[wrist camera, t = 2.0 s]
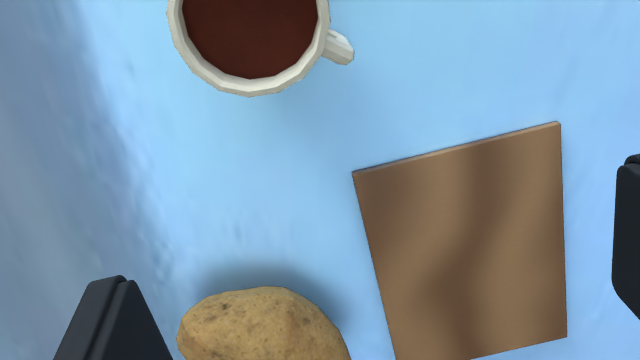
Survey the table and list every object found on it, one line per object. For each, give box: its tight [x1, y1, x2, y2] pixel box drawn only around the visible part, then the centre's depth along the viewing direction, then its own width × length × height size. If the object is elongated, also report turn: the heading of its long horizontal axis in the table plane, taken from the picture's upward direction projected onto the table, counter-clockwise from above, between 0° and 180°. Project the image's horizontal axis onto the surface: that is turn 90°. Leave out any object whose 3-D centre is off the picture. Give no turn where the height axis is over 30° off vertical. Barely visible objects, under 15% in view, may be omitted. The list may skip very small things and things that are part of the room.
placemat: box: [352, 121, 567, 360], centre depth 46 cm, size 16×22×1 cm
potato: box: [176, 286, 351, 360], centre depth 43 cm, size 10×14×8 cm
